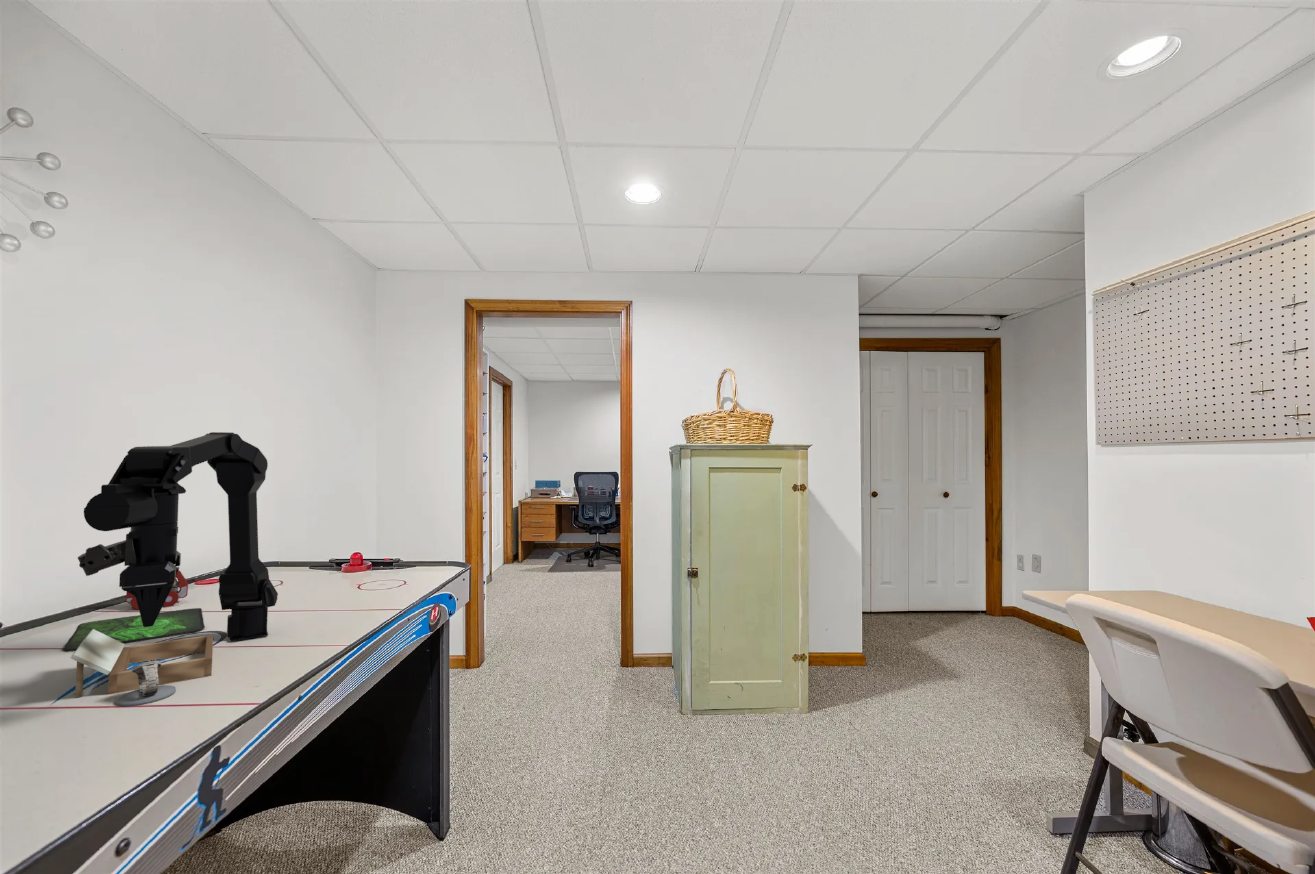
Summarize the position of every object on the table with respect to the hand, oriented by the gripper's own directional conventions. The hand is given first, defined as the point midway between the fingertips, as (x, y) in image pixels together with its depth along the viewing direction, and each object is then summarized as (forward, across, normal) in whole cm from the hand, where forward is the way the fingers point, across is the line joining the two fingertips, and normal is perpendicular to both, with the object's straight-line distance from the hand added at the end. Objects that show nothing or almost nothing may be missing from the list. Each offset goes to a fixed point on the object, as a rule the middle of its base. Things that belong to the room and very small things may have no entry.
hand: (151, 619), depth 91 cm
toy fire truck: (+13, -73, -4) cm, 74 cm away
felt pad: (+12, +2, 0) cm, 12 cm away
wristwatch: (+12, +2, 0) cm, 12 cm away
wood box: (+12, -12, -1) cm, 17 cm away
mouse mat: (+13, -50, -5) cm, 52 cm away
